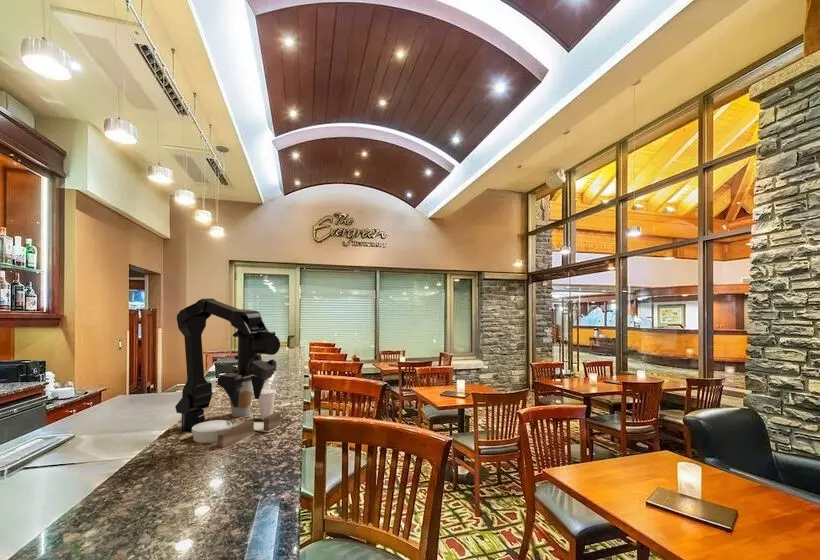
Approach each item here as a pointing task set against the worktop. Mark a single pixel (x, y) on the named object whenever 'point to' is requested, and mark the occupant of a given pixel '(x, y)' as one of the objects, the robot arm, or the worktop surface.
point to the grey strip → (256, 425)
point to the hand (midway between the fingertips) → (246, 403)
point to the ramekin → (210, 430)
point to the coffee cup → (243, 399)
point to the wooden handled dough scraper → (236, 434)
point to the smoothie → (266, 402)
